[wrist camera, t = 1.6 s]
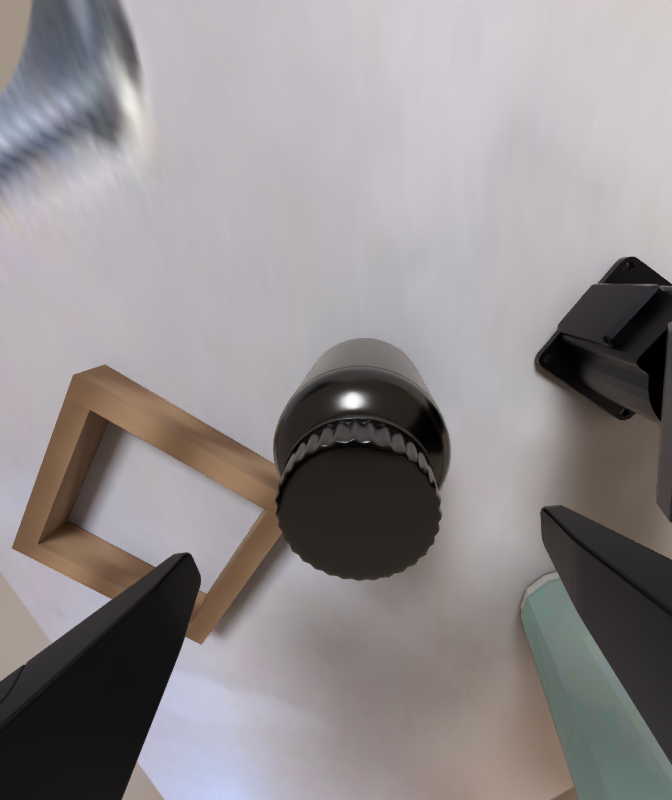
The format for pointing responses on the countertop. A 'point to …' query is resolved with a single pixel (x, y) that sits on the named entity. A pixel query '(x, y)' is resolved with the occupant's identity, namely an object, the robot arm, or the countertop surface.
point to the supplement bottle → (361, 463)
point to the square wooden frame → (168, 431)
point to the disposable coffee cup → (590, 704)
